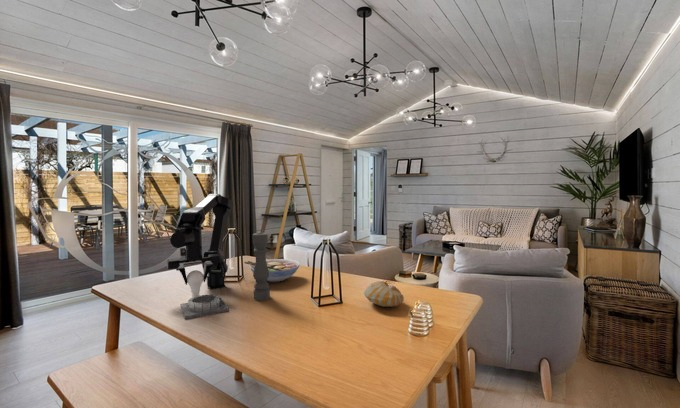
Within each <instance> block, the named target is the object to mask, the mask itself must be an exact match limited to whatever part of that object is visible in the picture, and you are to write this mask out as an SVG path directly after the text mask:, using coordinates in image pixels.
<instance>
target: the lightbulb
mask: <svg viewBox="0 0 680 408" xmlns="http://www.w3.org/2000/svg"><path fill="white" fill-rule="evenodd" d="M203 274H204V273H202V272H201V270H195V269H194V270H192V271H190V272H189V273H187V274H186V278H187V285H188V286H189V288H190V291H191V296H192V297H191V298H193V297H196V296H200V292H201V288H202V287H201V286H202V284H203V283H204V281H203V280H204V276H203Z"/></svg>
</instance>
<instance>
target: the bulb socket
mask: <svg viewBox="0 0 680 408" xmlns="http://www.w3.org/2000/svg"><path fill="white" fill-rule="evenodd" d="M180 310H181V311H182V314H183V318H184V320H189V319H195V318H200V317H205V316H209V315H214V314H220V313H224V312H225V313H226V312H229V310H230V309H229V307H228V305H227V304H226V302H225V301H224V299H223V298H222V297H221V296H218V294H199V296H196V297H191V298H189V299H188V301H187V302H185V303H184V302H183V303H180Z"/></svg>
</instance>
